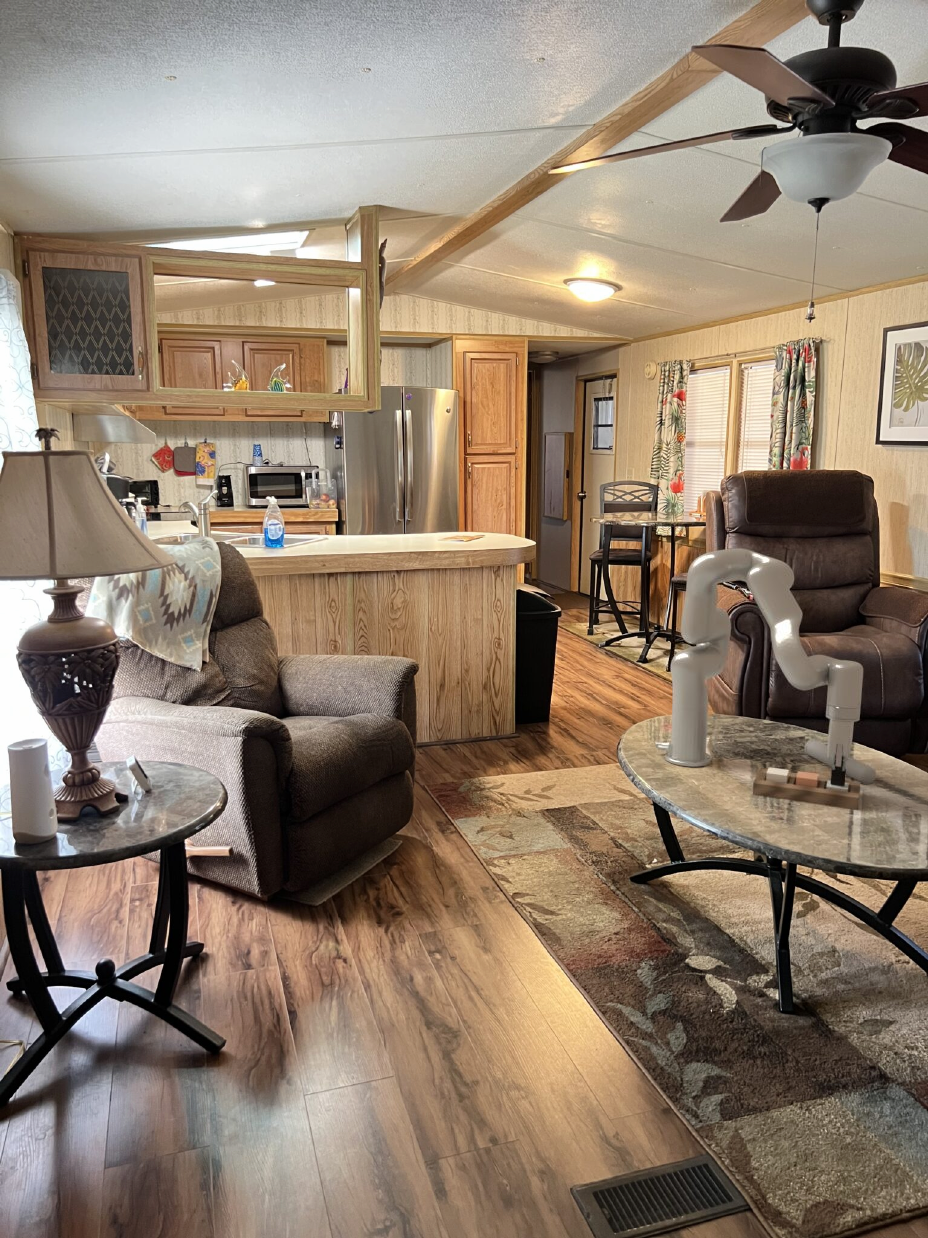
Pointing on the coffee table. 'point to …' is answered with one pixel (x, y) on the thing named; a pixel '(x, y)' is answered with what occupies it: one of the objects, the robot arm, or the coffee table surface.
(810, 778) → the key mid
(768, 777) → the key left
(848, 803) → the wooden tray
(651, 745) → the coffee table surface
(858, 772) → the tube
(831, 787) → the key right
